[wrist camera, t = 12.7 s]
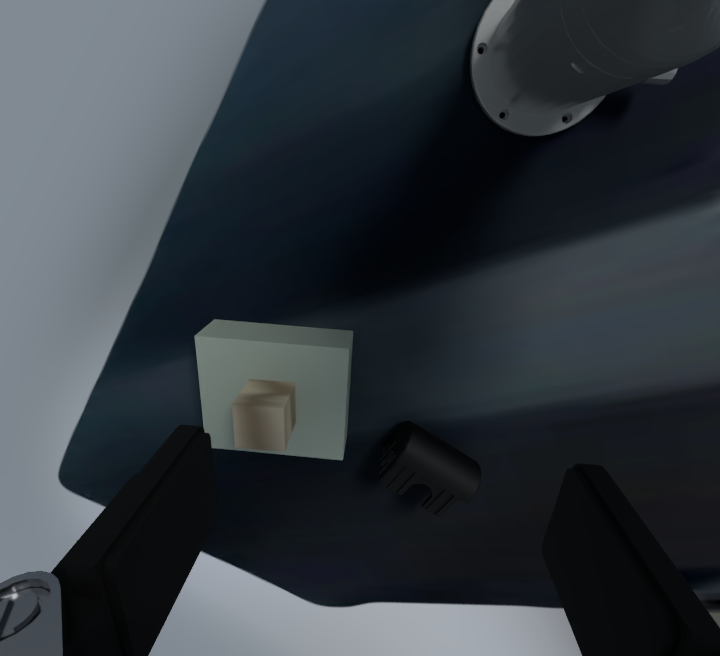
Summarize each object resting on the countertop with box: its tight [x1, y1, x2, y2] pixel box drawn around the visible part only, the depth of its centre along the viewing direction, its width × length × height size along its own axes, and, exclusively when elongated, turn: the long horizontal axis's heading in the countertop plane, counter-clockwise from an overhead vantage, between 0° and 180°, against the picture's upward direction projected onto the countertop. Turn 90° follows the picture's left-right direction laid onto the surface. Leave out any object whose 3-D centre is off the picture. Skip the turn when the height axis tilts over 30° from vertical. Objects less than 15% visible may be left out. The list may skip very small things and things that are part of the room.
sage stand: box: [195, 319, 353, 460], centre depth 45 cm, size 16×14×5 cm
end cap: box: [379, 421, 481, 518], centre depth 47 cm, size 10×7×7 cm
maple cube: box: [232, 379, 296, 452], centre depth 40 cm, size 5×5×5 cm
